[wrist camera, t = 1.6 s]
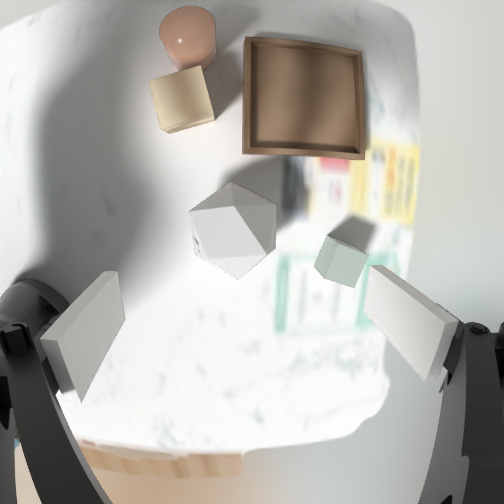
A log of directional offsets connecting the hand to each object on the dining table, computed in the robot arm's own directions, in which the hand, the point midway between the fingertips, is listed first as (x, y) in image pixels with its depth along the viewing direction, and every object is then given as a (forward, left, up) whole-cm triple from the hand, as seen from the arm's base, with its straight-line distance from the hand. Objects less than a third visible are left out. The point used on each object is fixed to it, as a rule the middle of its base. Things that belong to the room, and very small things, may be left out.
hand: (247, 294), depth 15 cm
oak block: (-5, +13, -19) cm, 23 cm away
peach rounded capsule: (-5, +19, -19) cm, 27 cm away
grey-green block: (+12, -4, -19) cm, 23 cm away
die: (0, 0, -19) cm, 19 cm away
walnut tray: (+7, +14, -19) cm, 25 cm away
